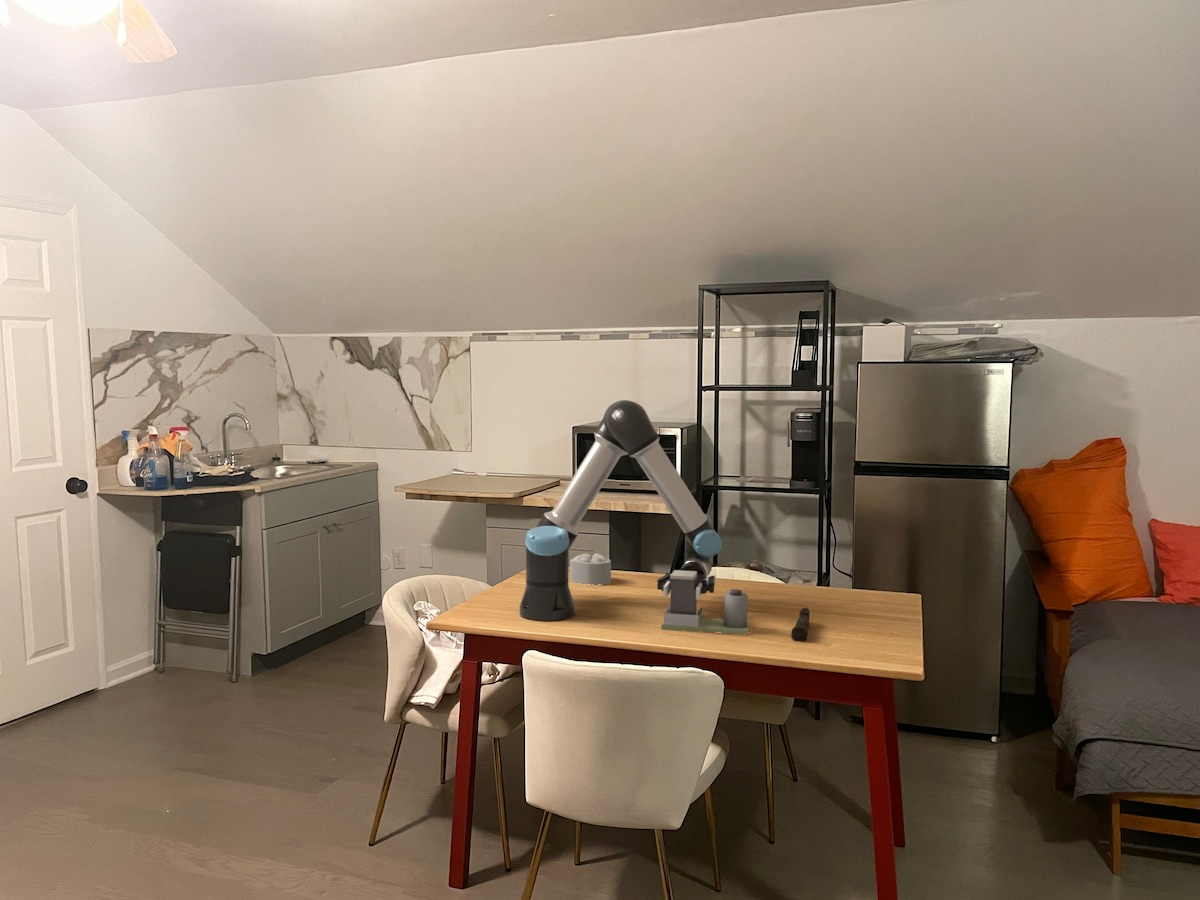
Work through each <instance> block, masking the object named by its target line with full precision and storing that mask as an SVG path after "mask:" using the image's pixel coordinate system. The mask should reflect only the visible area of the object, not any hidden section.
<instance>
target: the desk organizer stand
mask: <svg viewBox="0 0 1200 900" xmlns="http://www.w3.org/2000/svg"><path fill="white" fill-rule="evenodd" d="M748 596H749V595H748V593H747V592H743V591H742V589H735V588H734V589H730V590H729V591H727V592H724V594H723V619H720V618H705V617H703V619H702V621H701V623H700V625H699V627H689V626H675V625H664V621H663V622H662V623H661V630H667V629H673V630H672V631H681V630H686V631H685V632H695V631H702V632H701V633H709V632H721V633H720V634H723V633H731V634H730V635H736V634H746V635H745V636H748V635H749V633H748V632H749V631H750V629H749V628H751V621H749V620H748V608H749V607H748V603H749V602H748V601H749V599H748Z"/></svg>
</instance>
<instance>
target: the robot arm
mask: <svg viewBox="0 0 1200 900" xmlns="http://www.w3.org/2000/svg"><path fill="white" fill-rule="evenodd" d="M593 434H594V439H595V441H593V444H592V446H591V447H590V449H589V451H588V452H587V453H586V455H585V457H584V458H583V461H582V462H581V463H580V465H579V466H578V468H577V470H576V471H575V473H574V475H572V478H571V479H570V481H569V482H568V484H567V486H566V488H564V491H563V492H562V493H561V495H560V497H559V499H558V500H557V501H556V503H555V505H554V507H553V509H552V510H551V511H547V512H544V513H543V515H542V516H541V518H540V520H539V521H538V522H537V524H536V526H534V528H533V527H532V528H531V529H529V530H528V531H527V532H526V534H525V535H526V536H525V537H526V538H525V541H524V542H525V565H526V566H525V589H524V592H523V595H522V598H521V602H520V605H519V616H520V617H522V616H523V617H522V618H524V617H525V618H524V619H527V618H528V619H527V620H532V619H533V621H541V622H542V621H545V622H546V621H549V620H550V621H561V620H566V619H569V618H571V616H572V617H574V616H575V613H576V612H575V608H576V607H575V602H574V598H573V597H572V593H571V589H570V587H569V573H570V571H569V570H570V568H569V567H570V565H569V563H570V561H569V560H570V558H569V551H570V549H571V547H572V546H573V544H574V542H575V541H576V539H577V537H578V536H579V529H578V526H579V524H580V523H581V520H583V518H584V516H585V514H586V513H587V512H588V510H589V508H590V506H591V505H592V503H593V502H594V500H595V499H596V497H597V495H598V493H599V492H600V490H601V489H602V488H603V486H604V484H605V482H606V481H607V480H608V477H609V476H610V474H611V473H612V472H613V470H614V468H615V466H616V465H617V463H618V461H619V460H620V458H621V457H622V456H627V455H628V456H629V457H630V458H635V460H636V461H637V464H639V466H640V467H641V469H642V470H643V472H644V473H645V475H646V476H647V479H649V481H650V483H651V484H652V486H653V487H654V489H655V491H656V492H657V494H658V495H659V496H660V498H661V500H662V501H663V503H664V505H666V507H667V509H668V511H669V512H670V513H671V515H672V517H673V518H674V519H675V521H676V523H677V524H678V526H679V528H680V529H681V531H682V532H683V533H684V542H685V543H684V548H685V549H684V564H683V565H682V566H681V567H680V569H679V570H681V571H697V588H696V599H697V600H700V598H701V596H702V595H706V594H707V593H708V592H709V593H710V594H715V585H716V583H715V582H716V578H715V577H716V575H710V574H711V571H712V568H713V562H712V557H715V556H716V555H717V554H719V553H720V551H721V549H722V544H723V543H722V538H721V537H720V535H719V533H718V532H716V530H715V528H714V527H713V526H712V525H713V524H712V517H711V515H709V514H706V513H704V512H703V510H702V508H701V506H700V505H699V504H698V502H697V500H696V499H695V497H694V496H693V494H692V493H691V492H690V490H689V488H688V486H687V485H686V483H685V481H684V480H683V478H682V477H681V476H680V474H679V473H678V470H677V469H676V468H675V467H674V465H673V463H672V462H671V460H670V459H669V457H668V455H667V454H666V452H665V451H664V449H663V447H662V446H661V445H660V436H659V433H657V431H656V429H655V428H654V426H653V424H652V422H651V419H650V418H649V416H648V413H647V411H646V409H645V408H644V407H643V406H642V405H641V404H639V403H637V402H634V401H631V400H628V399H625V400H624V399H621V400H617V401H615V402H614V403H612V404H611V405H609V406H608V407H607V408H606V410H605V412H604V414H603V418H602V419H601V421H600V422H599V424H598V426H597V427H596V429H595V431H594V433H593ZM671 574H672V573H670V572H666V573H665V575H663V576H661V577H660V578H658V579H657V580H656V581H657V585H656V587H657V588H656V589H657V590H659V591H660V590H661V592H662V593H663V595H662V596H663V598H667V597H668V595H669V594H670V593H671V579H670V575H671ZM709 575H710V576H709Z"/></svg>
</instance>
